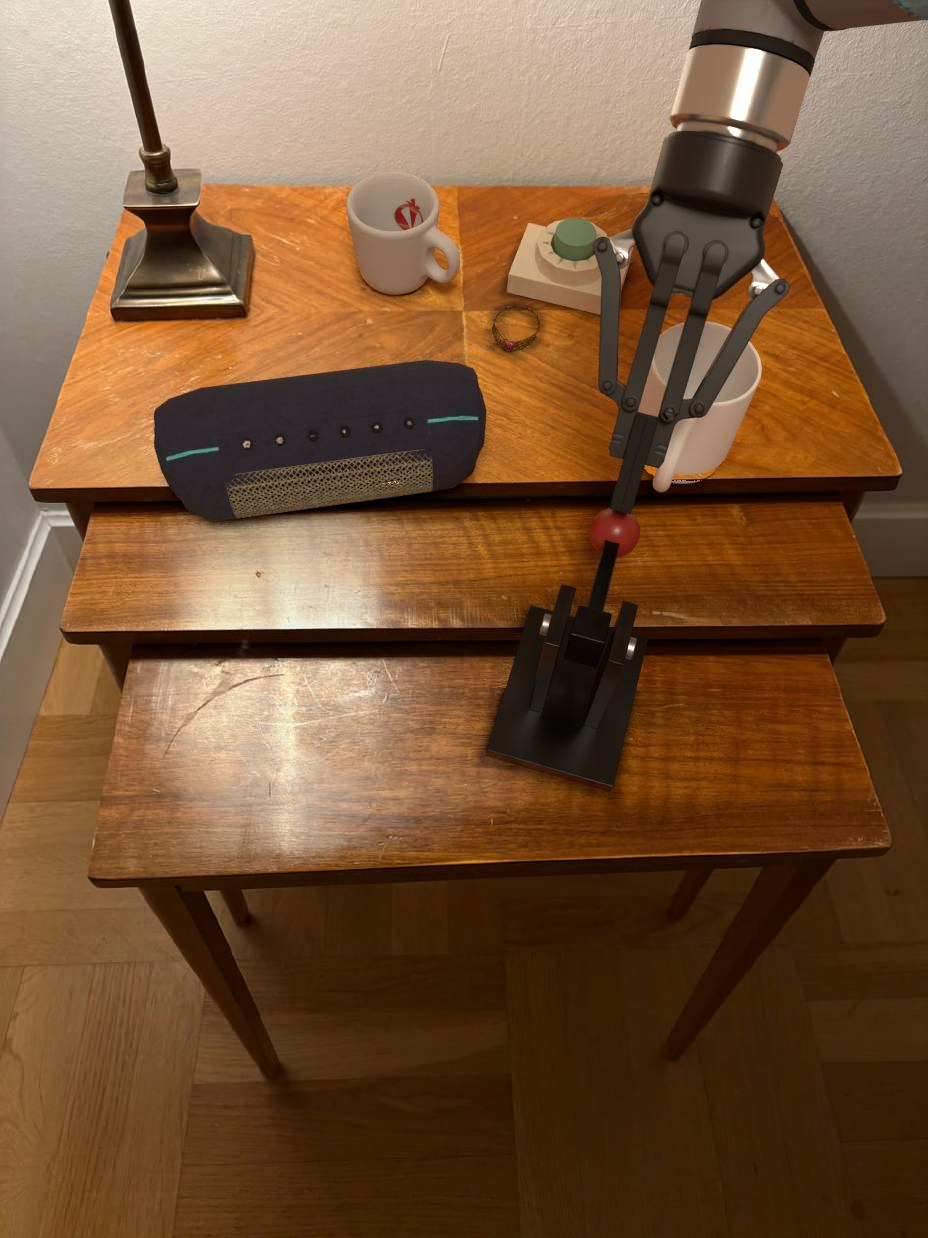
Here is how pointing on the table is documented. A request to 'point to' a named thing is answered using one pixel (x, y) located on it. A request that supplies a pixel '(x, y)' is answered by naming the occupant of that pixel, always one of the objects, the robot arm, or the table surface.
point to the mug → (712, 435)
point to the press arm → (601, 585)
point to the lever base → (568, 698)
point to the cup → (398, 233)
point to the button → (574, 239)
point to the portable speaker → (321, 438)
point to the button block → (556, 272)
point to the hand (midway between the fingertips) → (620, 507)
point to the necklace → (509, 345)
